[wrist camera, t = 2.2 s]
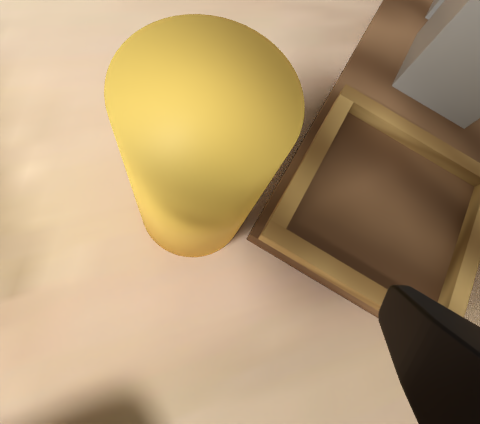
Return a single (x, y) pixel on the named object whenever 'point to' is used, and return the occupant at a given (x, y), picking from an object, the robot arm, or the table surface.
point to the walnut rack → (380, 183)
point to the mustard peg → (201, 125)
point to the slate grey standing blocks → (446, 62)
